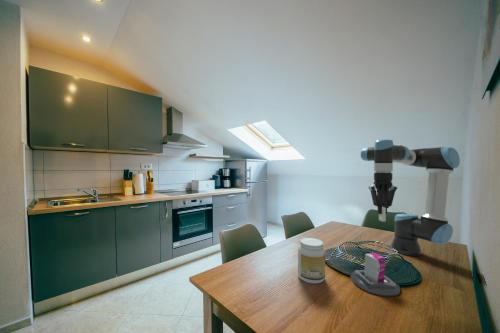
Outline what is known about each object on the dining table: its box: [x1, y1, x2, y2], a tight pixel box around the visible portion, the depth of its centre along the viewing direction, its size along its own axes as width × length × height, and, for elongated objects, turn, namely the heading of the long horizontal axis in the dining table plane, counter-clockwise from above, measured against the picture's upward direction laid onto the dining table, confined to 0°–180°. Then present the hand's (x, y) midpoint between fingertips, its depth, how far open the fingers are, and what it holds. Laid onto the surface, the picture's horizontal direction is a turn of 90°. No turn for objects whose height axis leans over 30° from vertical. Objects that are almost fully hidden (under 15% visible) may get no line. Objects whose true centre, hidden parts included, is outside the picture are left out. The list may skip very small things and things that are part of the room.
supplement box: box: [364, 252, 386, 282], centre depth 93 cm, size 6×6×12 cm
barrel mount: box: [350, 269, 401, 298], centre depth 93 cm, size 19×19×3 cm
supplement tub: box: [297, 237, 326, 284], centre depth 97 cm, size 12×12×17 cm
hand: (382, 220), depth 100 cm, fingers closed
